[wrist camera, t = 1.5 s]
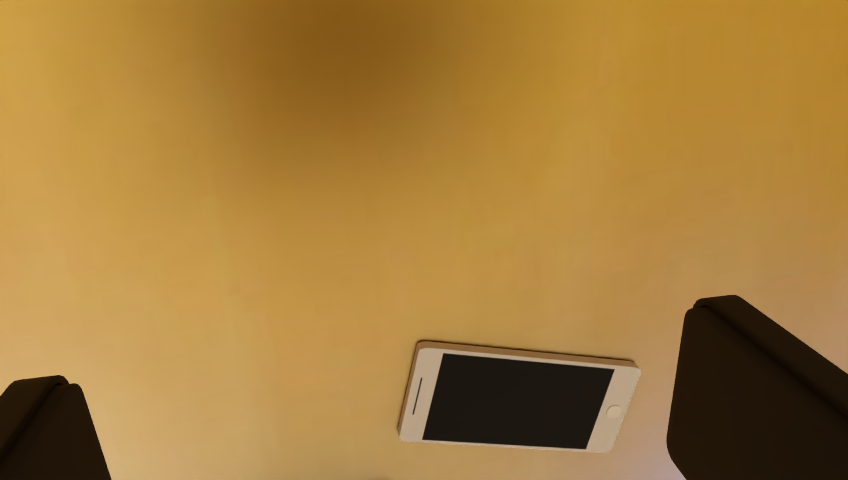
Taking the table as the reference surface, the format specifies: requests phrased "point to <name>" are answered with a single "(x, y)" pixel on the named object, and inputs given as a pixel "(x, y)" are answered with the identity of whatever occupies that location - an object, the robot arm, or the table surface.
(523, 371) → the smartphone
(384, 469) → the table surface
